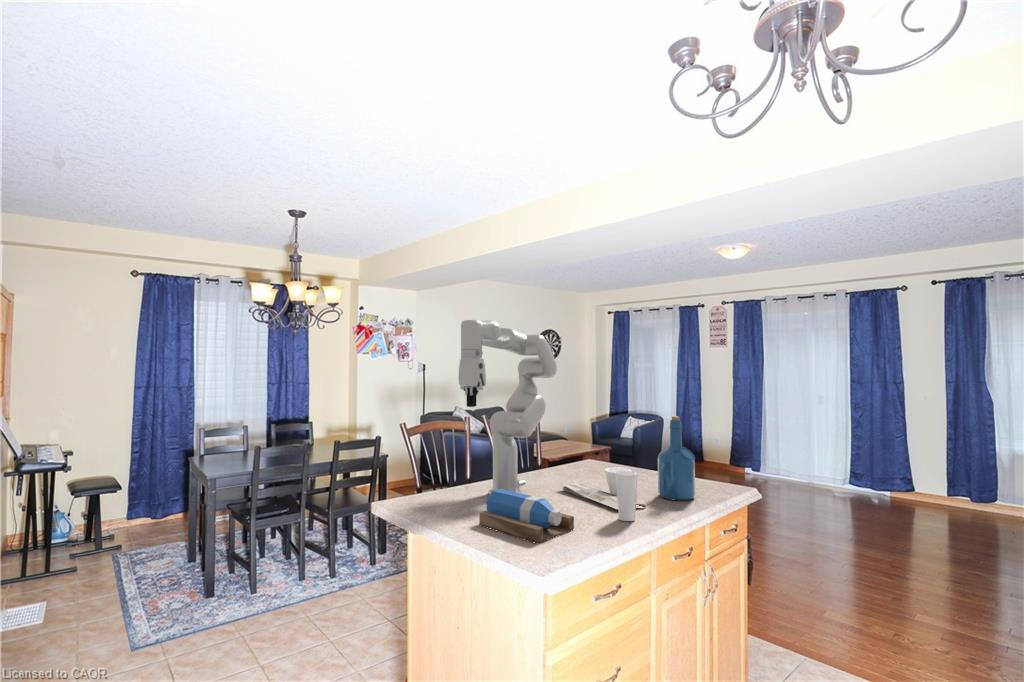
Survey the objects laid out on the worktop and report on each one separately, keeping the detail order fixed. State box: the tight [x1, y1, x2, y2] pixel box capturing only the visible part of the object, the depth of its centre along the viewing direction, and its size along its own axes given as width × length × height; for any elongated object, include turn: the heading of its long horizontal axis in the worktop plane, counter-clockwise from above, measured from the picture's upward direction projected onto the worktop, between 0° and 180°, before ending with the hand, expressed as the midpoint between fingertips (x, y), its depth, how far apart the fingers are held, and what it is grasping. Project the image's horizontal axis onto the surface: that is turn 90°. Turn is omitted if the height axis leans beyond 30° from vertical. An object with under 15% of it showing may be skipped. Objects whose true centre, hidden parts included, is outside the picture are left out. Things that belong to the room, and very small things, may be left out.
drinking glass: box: [616, 470, 638, 522], centre depth 168 cm, size 7×7×15 cm
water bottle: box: [486, 489, 563, 529], centre depth 162 cm, size 9×9×25 cm
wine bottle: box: [657, 415, 696, 501], centre depth 196 cm, size 14×13×30 cm
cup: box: [604, 466, 632, 495], centre depth 200 cm, size 10×10×9 cm
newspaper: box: [561, 482, 647, 510], centre depth 193 cm, size 35×12×4 cm, turn 32°
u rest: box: [478, 510, 575, 544], centre depth 161 cm, size 17×24×4 cm
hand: (471, 406), depth 185 cm, fingers closed
